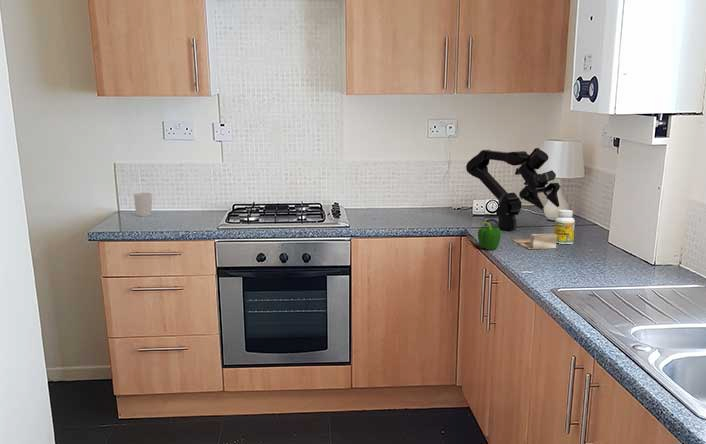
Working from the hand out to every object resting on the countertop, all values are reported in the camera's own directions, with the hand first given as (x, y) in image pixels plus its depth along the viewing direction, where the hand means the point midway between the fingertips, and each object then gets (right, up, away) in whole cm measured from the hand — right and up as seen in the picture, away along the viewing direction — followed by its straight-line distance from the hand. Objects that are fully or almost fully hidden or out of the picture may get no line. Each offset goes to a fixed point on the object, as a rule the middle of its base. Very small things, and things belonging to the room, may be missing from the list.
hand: (550, 207), depth 241 cm
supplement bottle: (+4, -14, -3) cm, 15 cm away
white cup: (-176, -3, +47) cm, 182 cm away
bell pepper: (-27, -16, -13) cm, 34 cm away
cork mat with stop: (-8, -14, -6) cm, 17 cm away
